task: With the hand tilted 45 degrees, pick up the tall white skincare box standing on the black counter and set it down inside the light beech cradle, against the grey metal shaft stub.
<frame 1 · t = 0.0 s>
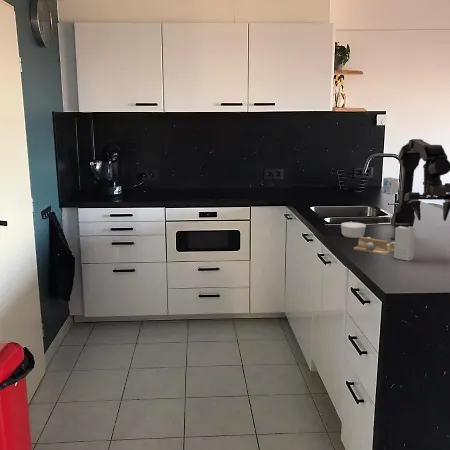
hand: (432, 220, 186), 15 cm above the counter, tool pointing down, fingers open, 9 cm apart
cradle: (376, 248, 206), on the counter
ramekin: (352, 236, 230), on the counter
skincare box: (402, 259, 192), on the counter
light bulb box: (390, 193, 365), on the counter
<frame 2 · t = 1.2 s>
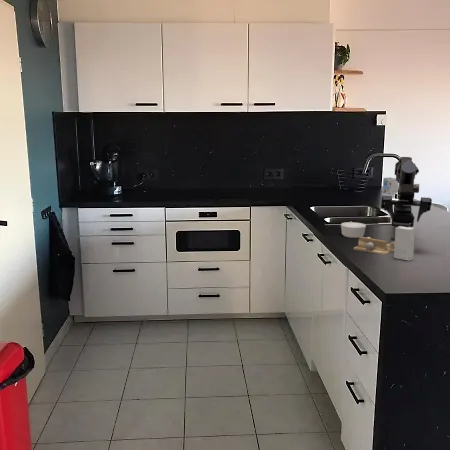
hand: (405, 220, 197), 13 cm above the counter, tool tilted 45°, fingers open, 9 cm apart
nothing on the counter moved.
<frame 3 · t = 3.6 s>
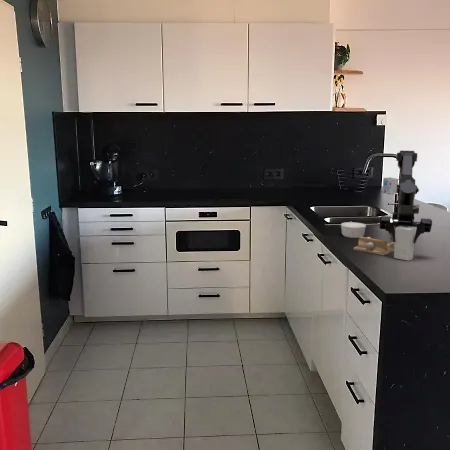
hand: (404, 242, 189), 7 cm above the counter, tool tilted 45°, fingers closed on skincare box, 7 cm apart
skincare box: (402, 259, 192), on the counter, touching gripper
everything else where it was.
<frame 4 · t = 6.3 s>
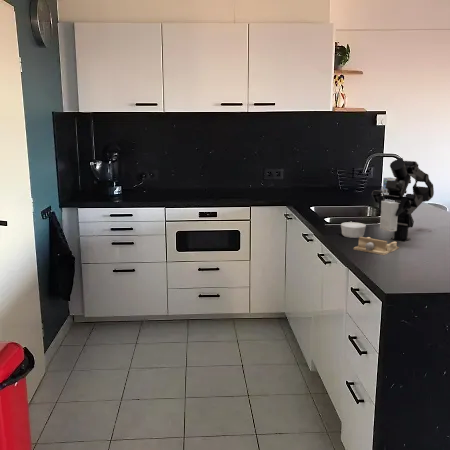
hand: (387, 214, 209), 13 cm above the counter, tool tilted 45°, fingers closed on skincare box, 7 cm apart
skincare box: (387, 230, 211), point 6 cm above the counter, touching gripper
everything else where it was.
when the fingers open (8 cm above the counter, at t = 9.0 s): skincare box stays where it is, resting on cradle.
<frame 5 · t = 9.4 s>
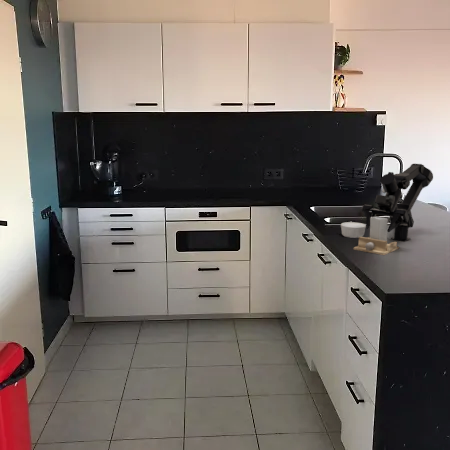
hand: (377, 229, 204), 8 cm above the counter, tool tilted 45°, fingers open, 9 cm apart
skincare box: (377, 247, 207), point 1 cm above the counter, touching cradle
everything else where it was.
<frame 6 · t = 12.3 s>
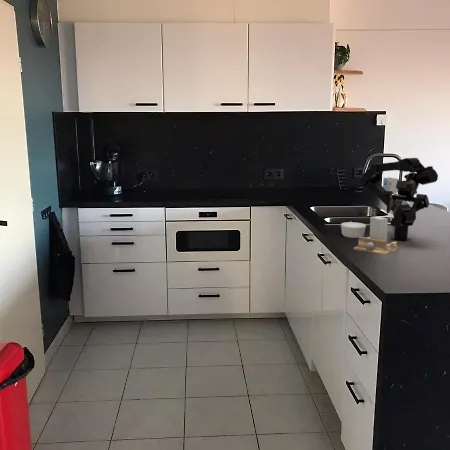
hand: (397, 214, 207), 14 cm above the counter, tool tilted 45°, fingers open, 9 cm apart
nothing on the counter moved.
at the end: skincare box inside the target area on the cradle (0.2 cm from its centre), point 0.6 cm above the cradle's base; skincare box tilted 0°; the gripper is holding nothing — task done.
